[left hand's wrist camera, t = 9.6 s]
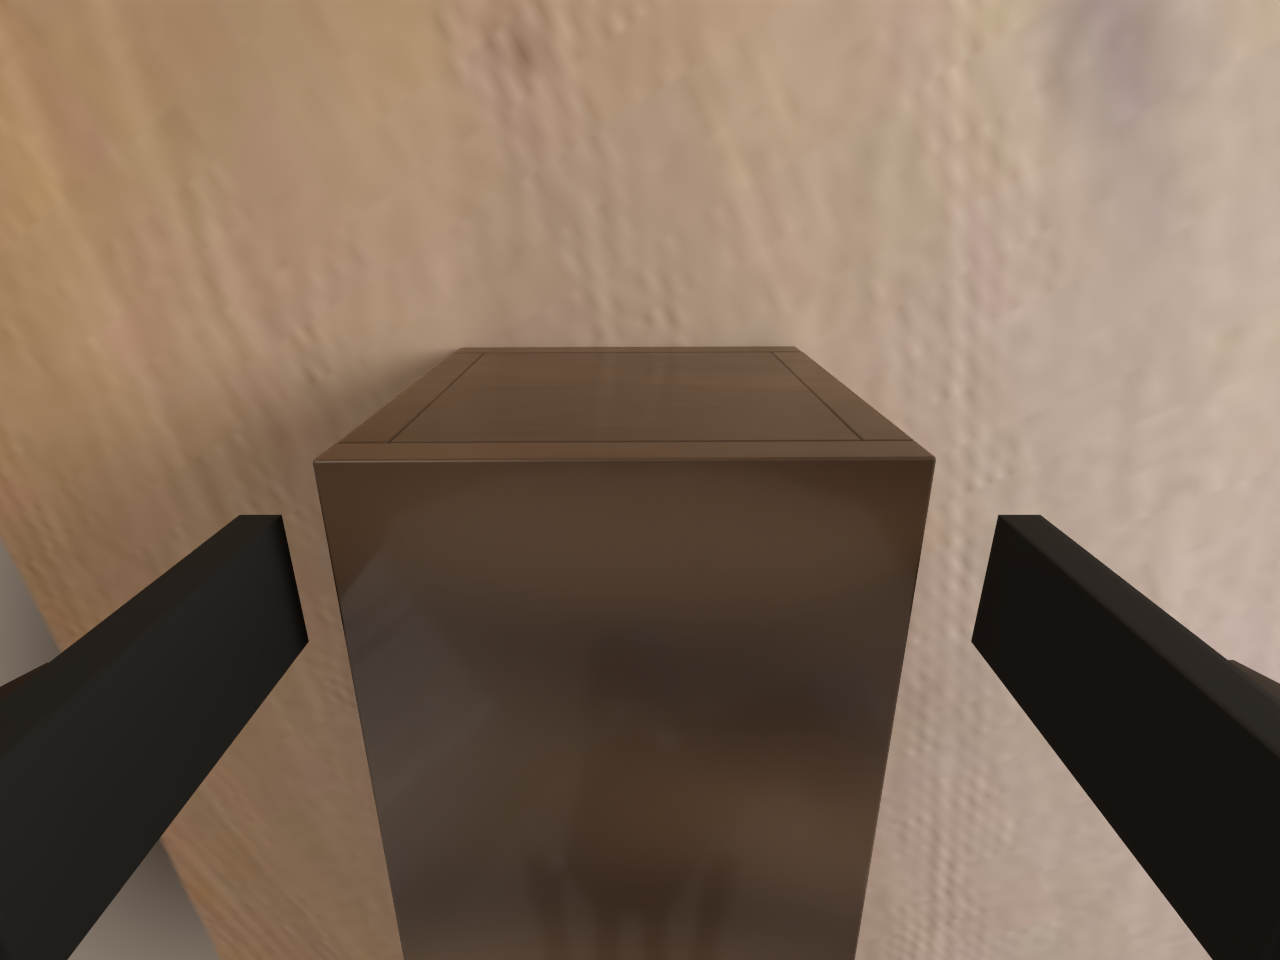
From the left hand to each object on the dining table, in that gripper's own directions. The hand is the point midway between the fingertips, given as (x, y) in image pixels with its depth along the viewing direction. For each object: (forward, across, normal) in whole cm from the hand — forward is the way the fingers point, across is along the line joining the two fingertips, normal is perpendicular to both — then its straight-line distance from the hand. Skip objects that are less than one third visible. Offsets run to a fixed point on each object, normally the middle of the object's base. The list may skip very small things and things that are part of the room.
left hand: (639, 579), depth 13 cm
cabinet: (+10, 0, -8) cm, 13 cm away
